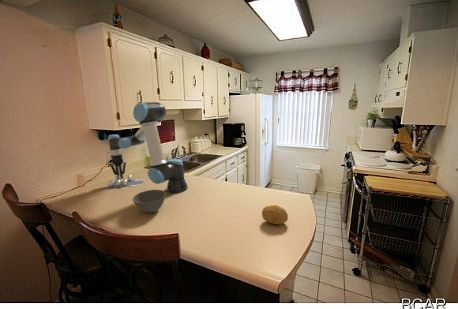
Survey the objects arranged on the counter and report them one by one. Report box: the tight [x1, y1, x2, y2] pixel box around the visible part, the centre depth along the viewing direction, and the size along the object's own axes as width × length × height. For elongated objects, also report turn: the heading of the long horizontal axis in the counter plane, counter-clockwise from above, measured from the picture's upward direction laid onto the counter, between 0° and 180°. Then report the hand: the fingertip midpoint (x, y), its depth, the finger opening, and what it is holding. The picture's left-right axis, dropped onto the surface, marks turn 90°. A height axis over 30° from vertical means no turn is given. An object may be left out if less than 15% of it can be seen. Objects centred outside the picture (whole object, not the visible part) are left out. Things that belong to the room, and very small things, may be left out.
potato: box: [261, 204, 289, 226], centre depth 112 cm, size 10×13×9 cm
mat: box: [105, 179, 146, 189], centre depth 177 cm, size 27×15×1 cm, turn 96°
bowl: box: [132, 189, 167, 214], centre depth 130 cm, size 19×19×10 cm
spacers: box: [108, 174, 133, 189], centre depth 176 cm, size 13×14×5 cm
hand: (121, 182), depth 176 cm, fingers closed
